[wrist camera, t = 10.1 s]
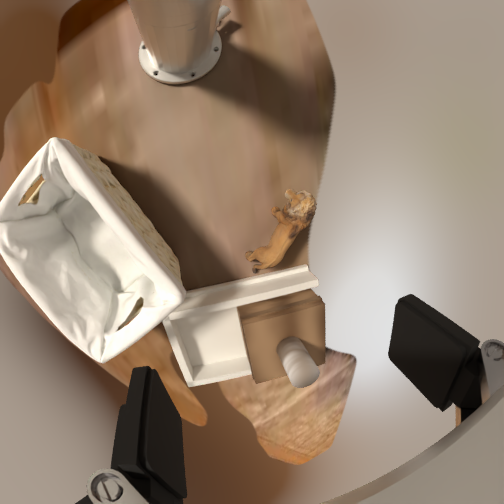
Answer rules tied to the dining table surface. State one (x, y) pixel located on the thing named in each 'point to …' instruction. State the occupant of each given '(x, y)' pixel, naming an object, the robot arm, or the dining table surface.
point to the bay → (224, 323)
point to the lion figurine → (285, 228)
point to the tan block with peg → (285, 337)
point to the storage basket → (87, 251)
